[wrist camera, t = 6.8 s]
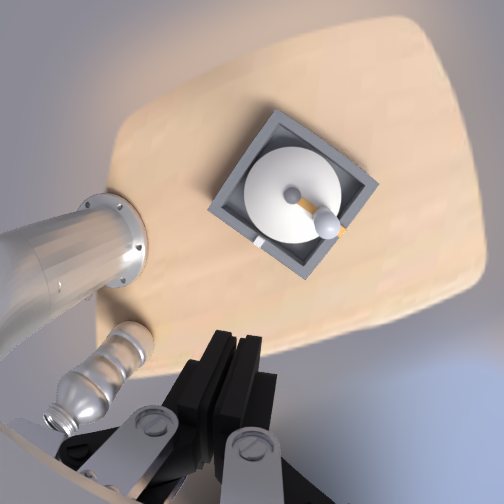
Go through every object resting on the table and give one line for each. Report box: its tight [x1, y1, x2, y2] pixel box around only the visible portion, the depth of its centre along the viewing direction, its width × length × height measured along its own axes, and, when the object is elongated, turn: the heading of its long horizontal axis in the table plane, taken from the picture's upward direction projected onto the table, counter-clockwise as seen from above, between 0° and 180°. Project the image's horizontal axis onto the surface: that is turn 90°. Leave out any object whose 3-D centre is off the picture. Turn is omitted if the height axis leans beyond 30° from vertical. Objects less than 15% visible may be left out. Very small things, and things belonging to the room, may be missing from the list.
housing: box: [208, 109, 379, 280], centre depth 28 cm, size 12×12×4 cm
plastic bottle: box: [43, 321, 154, 437], centre depth 28 cm, size 6×7×20 cm
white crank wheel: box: [244, 147, 341, 243], centre depth 25 cm, size 9×9×7 cm
